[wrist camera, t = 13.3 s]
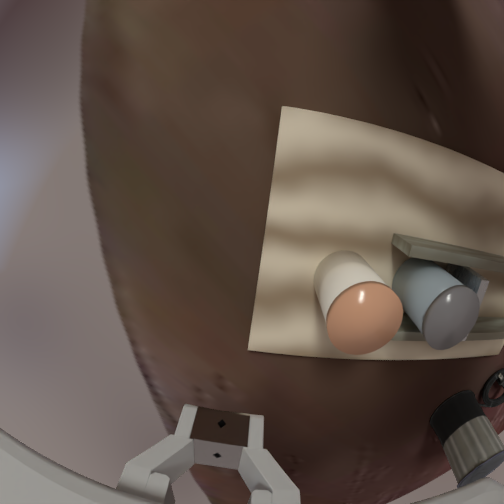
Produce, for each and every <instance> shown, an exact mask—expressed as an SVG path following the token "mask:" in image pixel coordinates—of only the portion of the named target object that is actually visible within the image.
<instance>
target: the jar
mask: <svg viewBox="0 0 504 504" xmlns="http://www.w3.org/2000/svg"><path fill="white" fill-rule="evenodd" d="M313 283H314V288H315V291H316V294H317V297H318V300H319V303H320V306H321V309H322V312H323V315H324V318H325V322H326V329H327V332H328V336H329V338H330V341H331V342H332V344H333V345H334V346H335V347H336V348H337V349H338V350H340V351H342V352H344V353H347V354H351V355H362V354H367V353H371V352H374V351H376V350H378V349H380V348H381V347H383V346H384V345H386V344H387V343H388V342H389V341H390V340H391V339H392V338H393V337H394V336H395V334H396V333H397V331H398V329H399V327H400V325H401V322H402V318H403V307H402V303H401V301H400V299H399V297H398V296H397V295H396V293H395V292H394V291H393V290H392V289H391V288H390V287H389V286H387V285H386V284H385V282H384V281H383V280H382V279H381V278H380V277H379V275H378V274H377V273H376V272H375V271H374V270H373V268H372V267H371V266H370V265H369V264H368V263H367V262H366V260H365V259H364V258H363V257H362V256H360V255H359V254H357V253H356V252H353V251H348V250H341V251H336V252H333V253H331V254H329V255H328V256H326V257H325V258H324V259H323V260H322V261H321V262H320V263H319V264H318V266H317V268H316V270H315V273H314V278H313Z"/></svg>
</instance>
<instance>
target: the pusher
mask: <svg viewBox="0 0 504 504" xmlns="http://www.w3.org/2000/svg"><path fill="white" fill-rule="evenodd" d="M446 271H447V272H448V273H449V274H451V275H452V276H453V277H454V278H456V279H457V280H458V281H459V282H461V283H462V284H463V285H465V286H467V287H469V288H470V289H471V290H473V291H474V292H475V293H476V294H477V296H478V298H479V302H480V306H481V303H482V300H483V298H484V295H485V292H486V290H487V287H488V284H489V280H487V279H486V278H484V277H483V276H482V275H480V274H479V273H477V272H476V271H474V270H473V269H471V268H470V267H467V266H461V265H456V264H450V263H448V265H447V269H446ZM467 336H468V335H467ZM467 336H466V337H465V338H464V339H463V340H462V341H465V340H466V338H467Z"/></svg>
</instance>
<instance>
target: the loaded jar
mask: <svg viewBox="0 0 504 504" xmlns="http://www.w3.org/2000/svg"><path fill="white" fill-rule="evenodd" d="M392 290H393V291H394V292H395V293H396V295H397V296H398V297H399V299H400V301H401V303H402V307H403V309H404V311H405V312H406V313H407V314H408V316H409V317H410V318H411V320H412V321H413V322H414V324H415V325H416V326H417V327H418V329H419V330H420V331H421V333H422V334H423V337H424V339H425V340H426V341H427V343H428V344H429V345H430V346H431V347H432V348H433V349H436V350H445V349H449V348H451V347H453V346H455V345H457V344H458V343H460V342H461V341H462V340H463V339H464V338H465V337H466V336H467V335H468V334H469V332H470V331H471V330H472V328H473V327H474V325H475V323H476V320H477V318H478V315H479V309H480V302H479V298H478V296H477V294H476V293H475V292H474V291H473V290H471V289H470V288H469V287H467V286H465V285H463V284H462V283H461V282H459V281H458V280H457V279H456V278H454V277H453V276H452V275H451V274H449V273H448V272H447V271H445V270H444V269H443V268H441V267H440V266H439V265H437V264H436V263H435V262H433V261H432V260H426V259H420V258H414V257H412V258H410V259H408V260H406V261H405V262H404V263H403V264H402V265H401V266H400V267H399V268H398V270H397V271H396V273H395V275H394V278H393V281H392Z"/></svg>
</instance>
